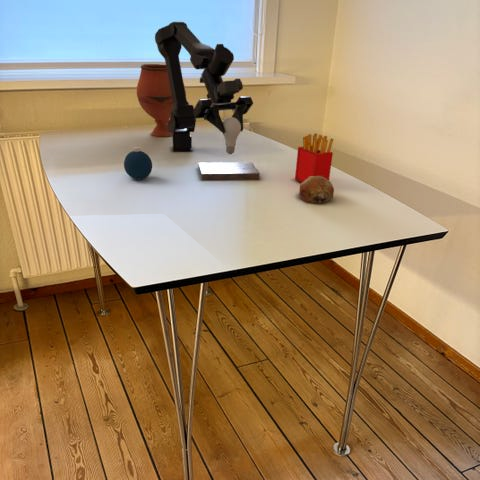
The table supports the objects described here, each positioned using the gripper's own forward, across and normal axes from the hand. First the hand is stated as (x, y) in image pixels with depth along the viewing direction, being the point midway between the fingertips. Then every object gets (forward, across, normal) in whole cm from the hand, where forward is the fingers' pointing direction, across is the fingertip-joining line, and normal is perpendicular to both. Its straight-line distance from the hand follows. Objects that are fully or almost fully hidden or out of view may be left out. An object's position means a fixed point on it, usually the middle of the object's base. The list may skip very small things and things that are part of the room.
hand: (233, 131), depth 150 cm
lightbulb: (+4, 0, +6) cm, 7 cm away
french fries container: (+22, +18, -4) cm, 29 cm away
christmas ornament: (+3, -28, +16) cm, 32 cm away
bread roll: (+30, +10, -12) cm, 34 cm away
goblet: (-32, +4, +52) cm, 61 cm away
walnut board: (+9, -1, +10) cm, 13 cm away
